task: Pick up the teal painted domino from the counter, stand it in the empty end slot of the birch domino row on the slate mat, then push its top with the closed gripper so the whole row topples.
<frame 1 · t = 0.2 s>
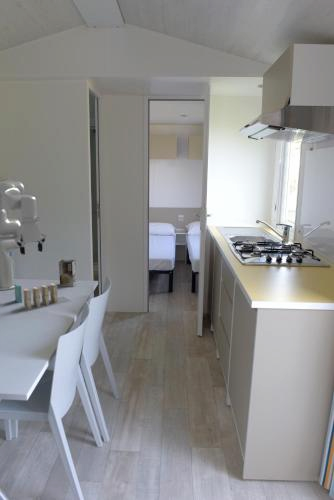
hand: (31, 252, 198), 30 cm above the table, fingers open, 9 cm apart
domino 4: (54, 301, 212), resting on slate mat
domino 2: (37, 305, 206), resting on slate mat
coffee box: (68, 285, 243), on the table
domino 3: (45, 303, 209), resting on slate mat
slate mat: (45, 304, 209), on the table
teal domino: (18, 302, 212), on the table
domino 1: (28, 307, 202), resting on slate mat
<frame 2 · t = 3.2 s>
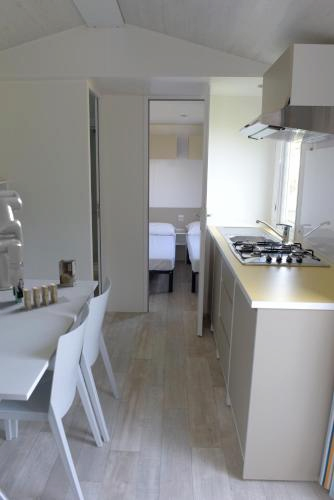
hand: (18, 296, 211), 3 cm above the table, fingers closed on teal domino, 4 cm apart
teal domino: (18, 302, 212), on the table, touching gripper
everything else where it was.
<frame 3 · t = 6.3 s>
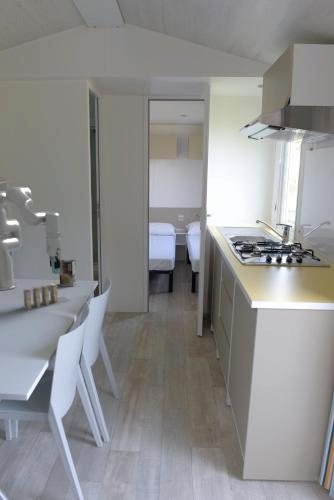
hand: (55, 267, 211), 20 cm above the table, fingers closed on teal domino, 4 cm apart
teal domino: (55, 272, 211), point 16 cm above the table, touching gripper
everything else where it was.
when the fingers open (5 cm above the table, at t = 9.8 s): teal domino stays where it is, resting on slate mat.
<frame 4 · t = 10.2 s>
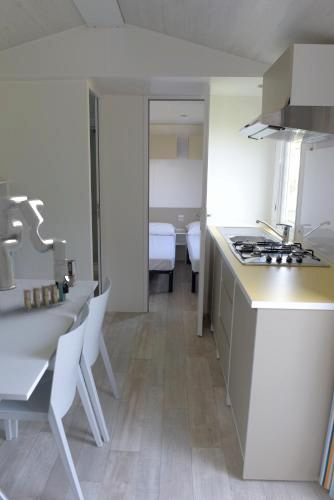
hand: (62, 291, 214), 6 cm above the table, fingers open, 8 cm apart
teal domino: (62, 299, 215), resting on slate mat
everything else where it was.
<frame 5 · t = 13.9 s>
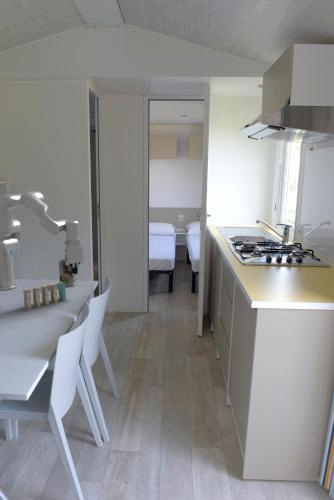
hand: (74, 273, 217), 15 cm above the table, fingers closed
nothing on the table moved.
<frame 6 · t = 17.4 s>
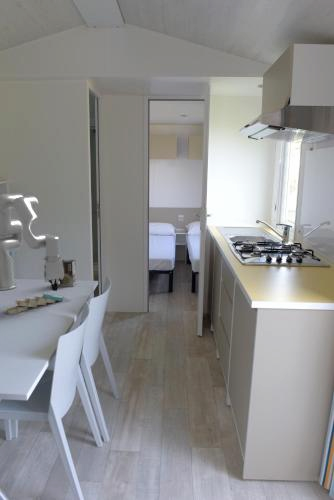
hand: (54, 290, 211), 7 cm above the table, fingers closed
domino 4: (52, 300, 211), point 1 cm above the table, tilted 69°, touching domino 3, slate mat, teal domino
domino 2: (35, 304, 205), point 1 cm above the table, tilted 69°, touching domino 1, domino 3, slate mat
domino 3: (43, 302, 208), point 1 cm above the table, tilted 69°, touching domino 2, domino 4
teal domino: (60, 298, 215), point 1 cm above the table, tilted 69°, touching domino 4
domino 1: (25, 306, 201), point 1 cm above the table, tilted 93°, touching domino 2, slate mat
everything else where it was.
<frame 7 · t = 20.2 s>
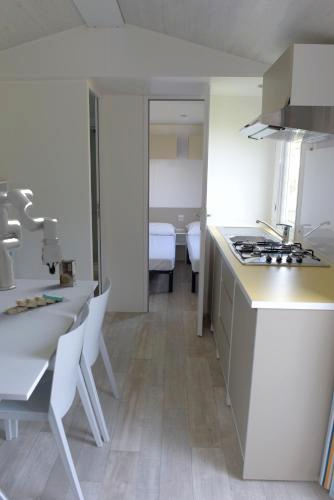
hand: (52, 273, 209), 17 cm above the table, fingers closed
nothing on the table moved.
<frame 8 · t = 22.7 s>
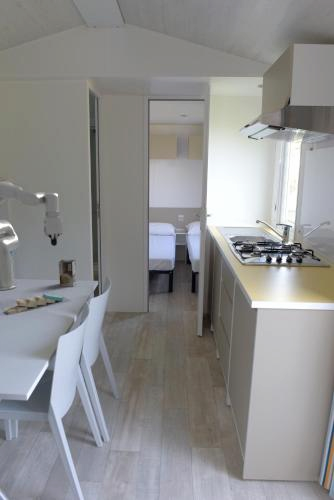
hand: (54, 245, 223), 29 cm above the table, fingers closed
nothing on the table moved.
at the end: teal domino inside the target area (0.0 cm from its centre), point 1.3 cm above the table; domino 3 tilted 69°; domino 1 tilted 93° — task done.
